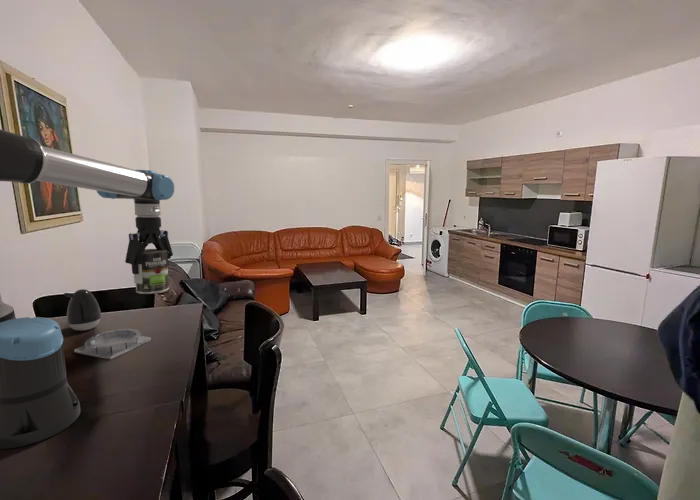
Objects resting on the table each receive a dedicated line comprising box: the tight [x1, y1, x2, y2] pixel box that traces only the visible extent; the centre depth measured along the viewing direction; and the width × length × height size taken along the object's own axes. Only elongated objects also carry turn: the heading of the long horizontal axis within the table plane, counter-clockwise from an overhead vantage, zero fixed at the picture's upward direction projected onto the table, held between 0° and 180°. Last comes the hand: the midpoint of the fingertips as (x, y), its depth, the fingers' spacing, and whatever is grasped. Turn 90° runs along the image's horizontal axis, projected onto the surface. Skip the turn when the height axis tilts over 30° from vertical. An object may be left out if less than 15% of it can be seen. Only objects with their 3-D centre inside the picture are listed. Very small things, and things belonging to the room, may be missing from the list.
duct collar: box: [74, 328, 152, 360], centre depth 114 cm, size 15×15×3 cm
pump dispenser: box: [63, 288, 102, 332], centre depth 127 cm, size 10×10×15 cm
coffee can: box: [135, 248, 170, 295], centre depth 118 cm, size 10×10×14 cm
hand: (152, 279), depth 119 cm, fingers closed on coffee can, 10 cm apart
